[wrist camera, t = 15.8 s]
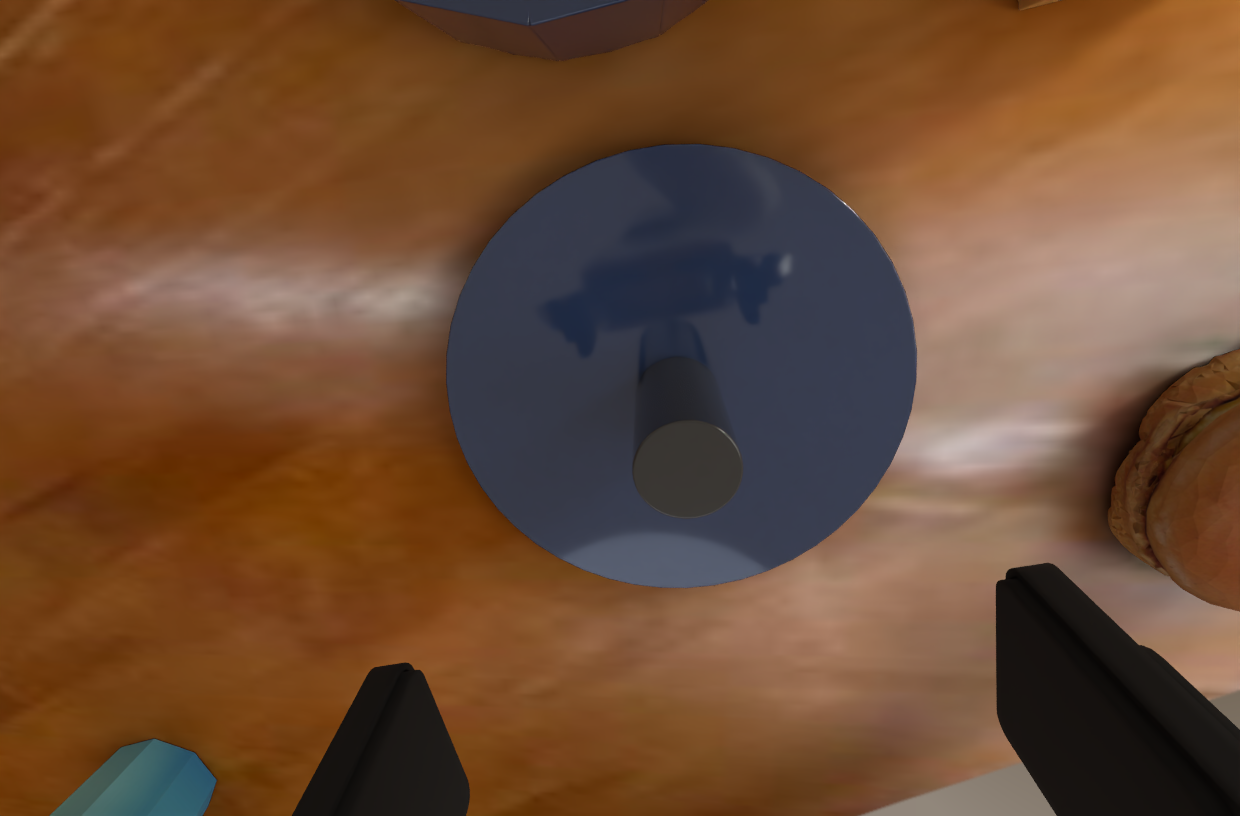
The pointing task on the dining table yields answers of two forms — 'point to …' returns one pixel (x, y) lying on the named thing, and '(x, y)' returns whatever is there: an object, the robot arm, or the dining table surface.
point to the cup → (144, 784)
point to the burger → (1187, 484)
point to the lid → (681, 365)
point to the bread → (1033, 3)
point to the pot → (553, 23)
